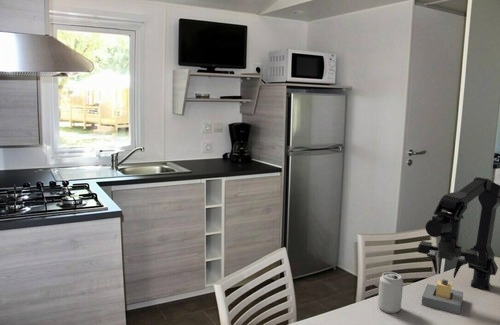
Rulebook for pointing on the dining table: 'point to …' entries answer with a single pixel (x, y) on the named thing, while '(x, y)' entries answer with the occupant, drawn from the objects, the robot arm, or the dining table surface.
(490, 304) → the dining table surface
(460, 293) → the socket
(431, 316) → the dining table surface
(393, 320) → the dining table surface
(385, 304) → the can
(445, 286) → the plug
